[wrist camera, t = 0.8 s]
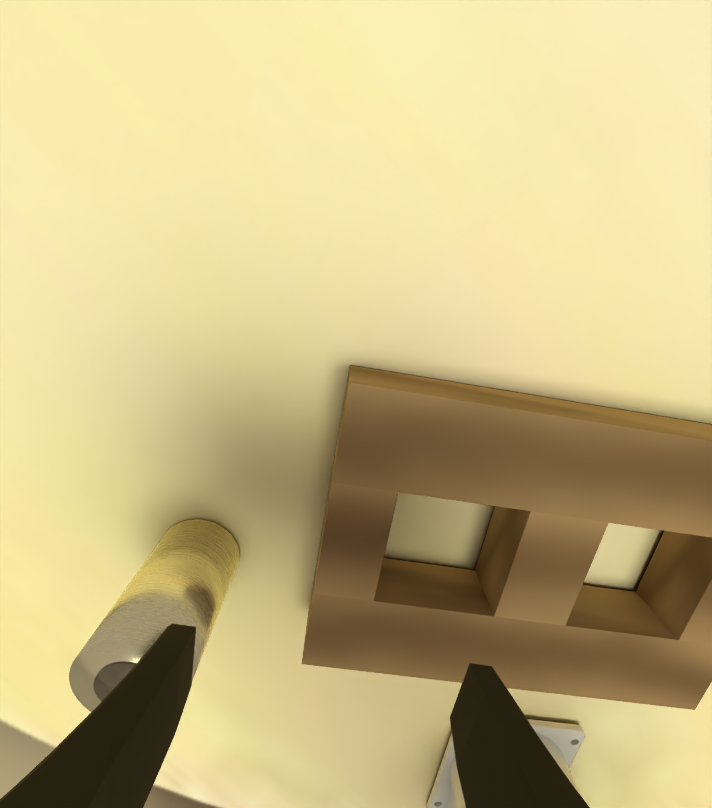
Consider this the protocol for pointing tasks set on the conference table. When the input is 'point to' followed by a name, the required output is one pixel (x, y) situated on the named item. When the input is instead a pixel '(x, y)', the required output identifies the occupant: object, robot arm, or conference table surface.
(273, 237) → the conference table surface
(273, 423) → the conference table surface
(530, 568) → the jig plate
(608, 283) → the conference table surface
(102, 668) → the battery
